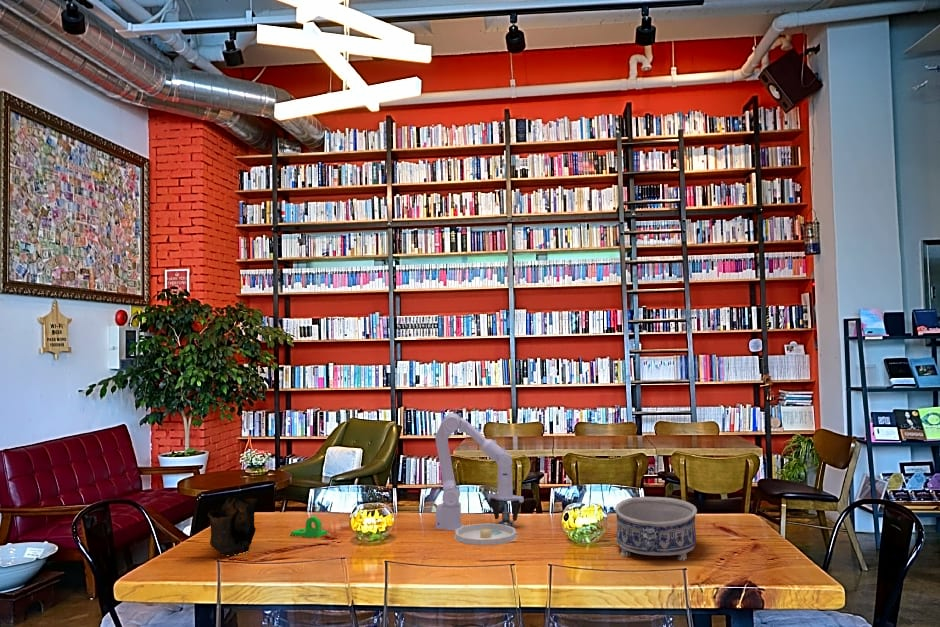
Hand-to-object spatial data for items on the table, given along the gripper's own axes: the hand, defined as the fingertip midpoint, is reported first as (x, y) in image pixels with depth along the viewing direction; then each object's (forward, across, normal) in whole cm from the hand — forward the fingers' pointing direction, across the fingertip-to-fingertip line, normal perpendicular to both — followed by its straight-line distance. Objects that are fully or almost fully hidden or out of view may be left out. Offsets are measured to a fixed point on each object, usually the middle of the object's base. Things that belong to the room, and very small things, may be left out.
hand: (505, 519), depth 281 cm
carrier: (+3, 0, -18) cm, 18 cm away
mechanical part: (+3, -63, -40) cm, 75 cm away
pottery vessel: (+3, -72, -69) cm, 100 cm away
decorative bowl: (+3, +60, -9) cm, 61 cm away
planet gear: (+3, 0, 0) cm, 3 cm away
